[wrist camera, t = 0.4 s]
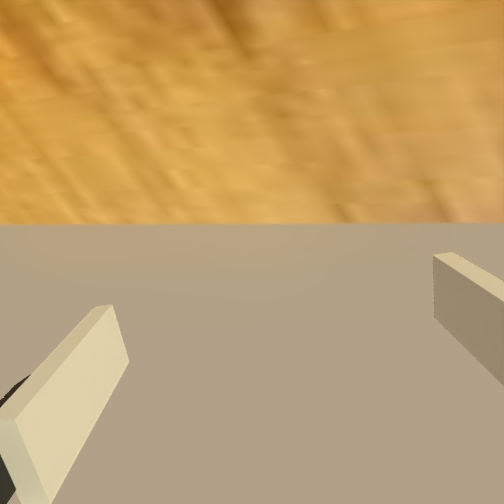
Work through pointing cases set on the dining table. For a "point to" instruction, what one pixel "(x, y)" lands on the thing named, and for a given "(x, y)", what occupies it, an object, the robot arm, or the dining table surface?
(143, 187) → the dining table surface
